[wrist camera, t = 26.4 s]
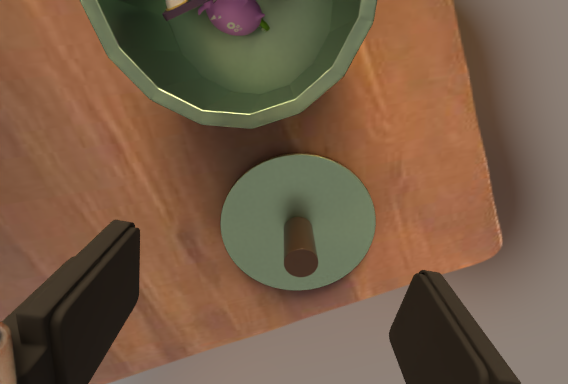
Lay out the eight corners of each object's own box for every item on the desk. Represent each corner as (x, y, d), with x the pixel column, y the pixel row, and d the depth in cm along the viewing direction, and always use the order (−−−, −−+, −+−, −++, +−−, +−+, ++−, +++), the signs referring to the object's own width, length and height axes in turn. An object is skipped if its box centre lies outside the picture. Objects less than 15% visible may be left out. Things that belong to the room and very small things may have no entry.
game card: (304, -74, 16) (153, 1, 17) (330, 29, 20) (201, 85, 21) (287, -76, 21) (170, -18, 22) (309, 6, 25) (207, 52, 26)
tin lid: (197, 178, 29) (175, 210, 23) (354, 129, 28) (374, 149, 21) (252, 297, 35) (246, 348, 29) (385, 263, 33) (408, 309, 27)
